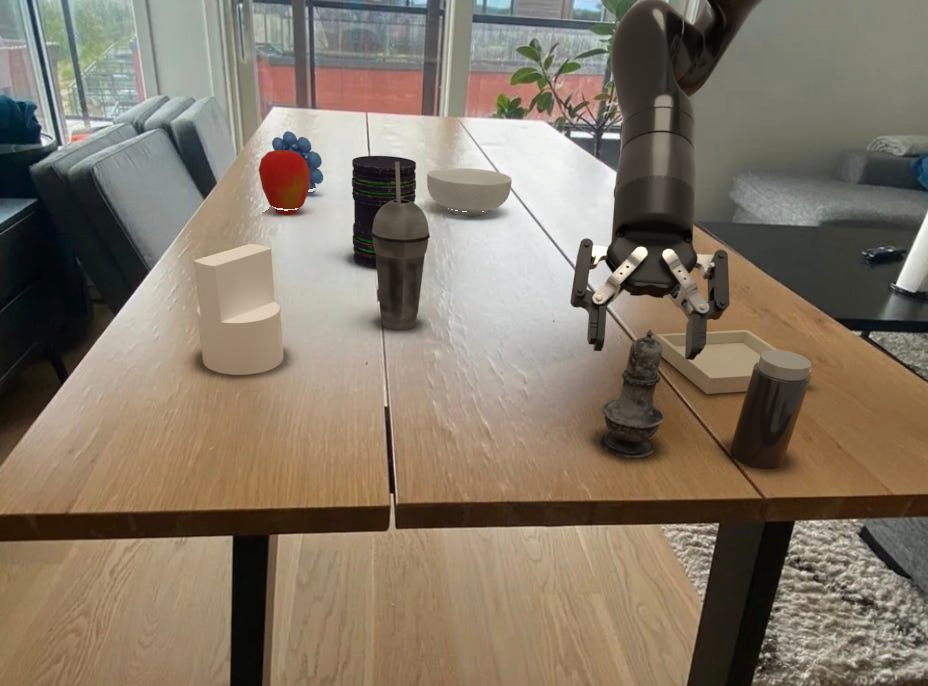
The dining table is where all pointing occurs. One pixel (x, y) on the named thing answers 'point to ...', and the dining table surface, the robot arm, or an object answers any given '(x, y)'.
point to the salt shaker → (635, 403)
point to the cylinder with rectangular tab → (238, 311)
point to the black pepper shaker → (770, 408)
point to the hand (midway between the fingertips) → (645, 352)
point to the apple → (284, 180)
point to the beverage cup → (399, 259)
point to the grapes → (303, 149)
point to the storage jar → (376, 197)
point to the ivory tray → (716, 359)
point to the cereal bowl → (468, 189)
